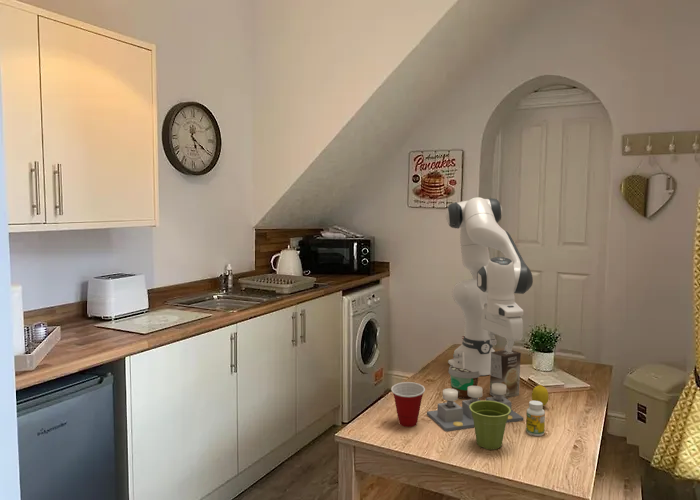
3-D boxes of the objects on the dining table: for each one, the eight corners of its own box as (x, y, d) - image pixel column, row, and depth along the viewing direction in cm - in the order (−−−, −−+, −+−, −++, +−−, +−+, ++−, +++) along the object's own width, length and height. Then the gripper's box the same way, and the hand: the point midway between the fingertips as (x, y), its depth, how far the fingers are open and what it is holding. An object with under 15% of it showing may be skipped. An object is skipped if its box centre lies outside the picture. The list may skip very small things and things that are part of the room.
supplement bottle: (547, 433, 171) (548, 403, 170) (537, 438, 167) (538, 407, 166) (532, 427, 175) (533, 398, 174) (522, 432, 172) (523, 402, 171)
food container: (441, 393, 205) (441, 367, 204) (450, 389, 209) (451, 363, 208) (470, 402, 196) (470, 375, 195) (479, 398, 200) (480, 371, 199)
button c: (440, 408, 182) (440, 389, 181) (453, 406, 183) (453, 387, 182) (446, 413, 177) (447, 394, 176) (460, 412, 178) (460, 392, 178)
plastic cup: (386, 427, 175) (386, 390, 174) (397, 414, 185) (397, 380, 184) (418, 433, 171) (419, 395, 170) (428, 420, 181) (429, 384, 180)
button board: (426, 414, 185) (426, 400, 185) (499, 404, 194) (500, 391, 193) (445, 431, 172) (446, 416, 172) (523, 420, 180) (523, 405, 180)
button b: (464, 405, 184) (464, 386, 183) (477, 403, 186) (477, 385, 185) (471, 410, 180) (472, 391, 179) (484, 408, 181) (485, 389, 180)
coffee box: (502, 400, 198) (503, 356, 197) (489, 394, 204) (490, 352, 202) (519, 395, 203) (521, 352, 201) (506, 390, 208) (507, 348, 207)
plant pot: (460, 440, 166) (461, 404, 165) (492, 433, 171) (493, 398, 170) (485, 457, 155) (486, 418, 154) (518, 449, 160) (519, 411, 159)
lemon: (549, 411, 188) (550, 388, 187) (532, 409, 189) (533, 387, 188) (546, 404, 194) (547, 382, 193) (530, 403, 195) (531, 381, 194)
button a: (488, 402, 187) (488, 383, 186) (500, 400, 188) (501, 382, 188) (496, 407, 182) (496, 388, 182) (508, 405, 184) (509, 386, 183)
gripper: (476, 302, 191) (476, 341, 193) (509, 313, 172) (508, 356, 173) (492, 301, 193) (492, 340, 194) (526, 311, 174) (526, 355, 175)
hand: (500, 348), depth 183 cm, fingers open, 8 cm apart
